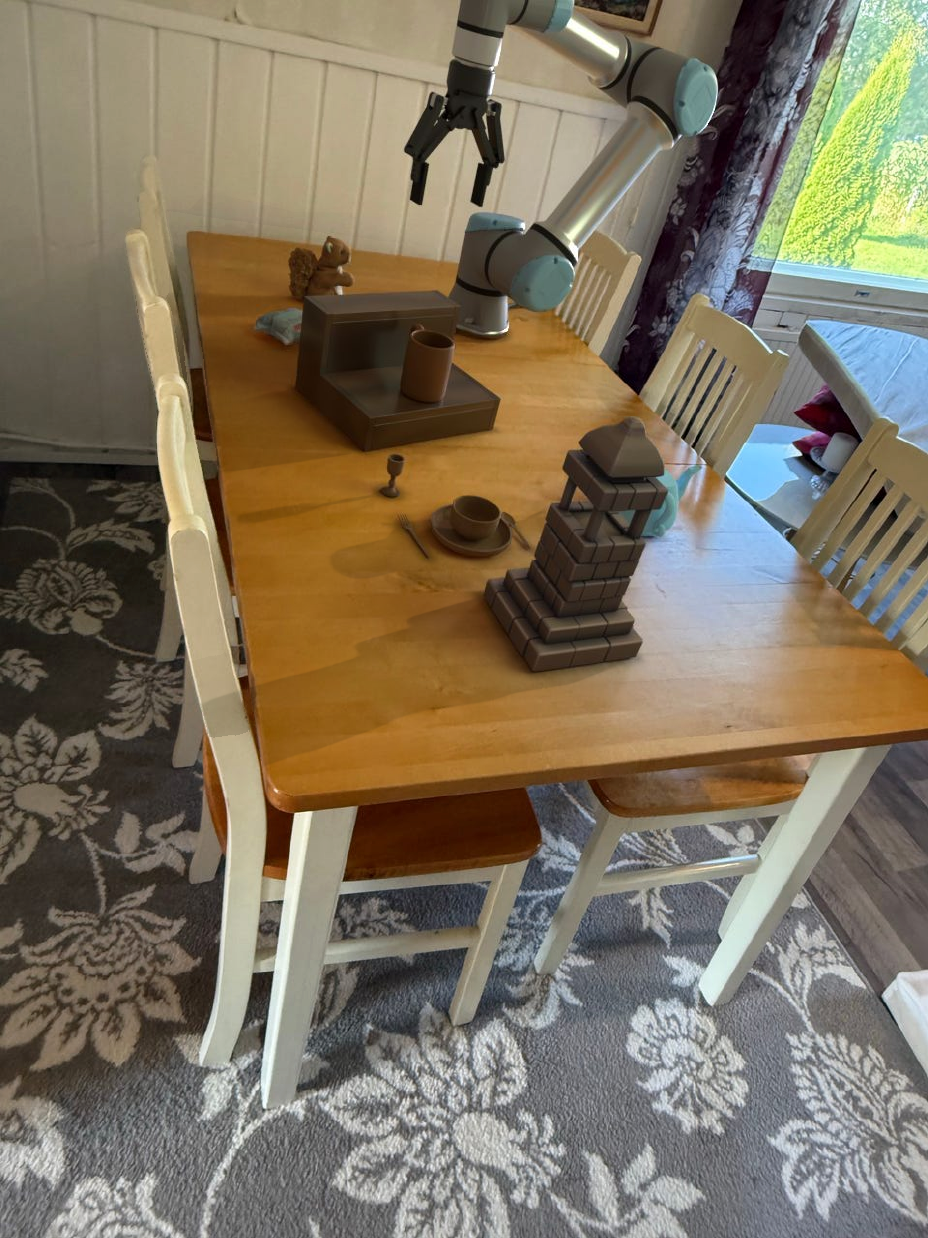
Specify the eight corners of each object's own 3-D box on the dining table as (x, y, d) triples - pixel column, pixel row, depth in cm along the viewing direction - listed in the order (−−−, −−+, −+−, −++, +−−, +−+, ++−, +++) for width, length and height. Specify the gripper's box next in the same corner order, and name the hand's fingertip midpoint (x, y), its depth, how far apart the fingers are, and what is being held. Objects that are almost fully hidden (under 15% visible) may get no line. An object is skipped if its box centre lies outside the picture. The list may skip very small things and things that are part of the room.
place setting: (432, 568, 115) (440, 532, 111) (374, 488, 127) (380, 453, 124) (539, 554, 123) (550, 520, 119) (475, 480, 136) (483, 447, 132)
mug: (384, 370, 146) (393, 316, 140) (426, 371, 149) (436, 319, 143) (407, 403, 138) (418, 348, 132) (450, 404, 141) (462, 350, 135)
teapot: (579, 525, 133) (601, 464, 125) (609, 487, 143) (631, 428, 136) (654, 560, 130) (681, 500, 123) (678, 518, 140) (705, 460, 133)
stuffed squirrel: (348, 317, 176) (356, 252, 167) (279, 302, 174) (284, 235, 166) (353, 301, 183) (362, 237, 175) (288, 286, 182) (293, 221, 174)
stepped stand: (492, 429, 151) (515, 342, 141) (364, 451, 135) (379, 356, 125) (421, 373, 162) (437, 289, 152) (294, 388, 146) (303, 295, 136)
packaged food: (329, 341, 164) (331, 316, 161) (285, 354, 156) (287, 328, 153) (295, 325, 167) (297, 300, 164) (251, 336, 159) (252, 310, 156)
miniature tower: (531, 674, 103) (610, 455, 84) (481, 596, 112) (543, 385, 94) (639, 658, 110) (735, 453, 91) (584, 586, 119) (660, 388, 101)
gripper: (515, 66, 146) (487, 198, 159) (396, 47, 131) (376, 193, 144) (544, 77, 142) (512, 212, 155) (425, 59, 127) (401, 209, 140)
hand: (446, 203), depth 150 cm, fingers open, 13 cm apart
